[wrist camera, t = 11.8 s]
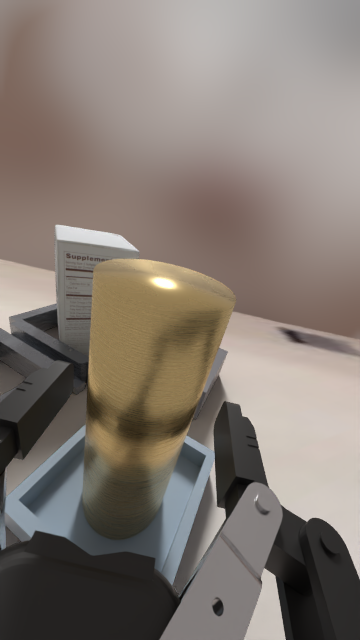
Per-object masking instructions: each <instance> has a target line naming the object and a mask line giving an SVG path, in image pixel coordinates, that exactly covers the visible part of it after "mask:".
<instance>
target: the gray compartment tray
mask: <svg viewBox="0 0 360 640" xmlns="http://www.w3.org/2000/svg"><path fill="white" fill-rule="evenodd" d="M9 321H10V328H11V334H9V333H8V332H6V331H4V330H3V329H1V328H0V360H1V361H2V362H4V363H5V364H7V365H8V366H10V367H11V368H12V369H14V370H15V371H17V372H18V373H20V374H21V375H23V376H24V377H26V378H27V377H28V376H29V375H30V374H32V373H33V372H35V371H37V370H39V369H41V368H47V369H48V368H49V367H50V366H51V365H52V364H53V363H54V362H55V361H57V360H60V361H64V362H68V363H72V364H73V365H74V386H73V390H72V392H73V393H74V394H76V395H77V394H78V393H79V392H81V391H82V390H83V389H85V382H87V383H88V369H89V357H88V356H86V355H84V354H82V353H81V352H79V351H77V350H75V349H74V348H72V347H70V346H68V345H66V344H65V343H63V342H61V341H59V340H58V339H56V338H54V337H52V336H50V335H49V334H47V333H45V332H43V331H45V330H48V329H50V328H53V327H56V326H58V316H57V304H53V305H50V306H46V307H43V308H39V309H36V310H32V311H29V312H25V313H22V314H18V315H15V316H11V317H9ZM14 389H16V387H15V388H13V389H12V390H10V391H8V392H6V393H4V394H2V395H1V396H0V402H1V401H2V400H3V399H4V398H6V397H7V396H8V395H9V394H10V393H11V392H12V391H13V390H14Z"/></svg>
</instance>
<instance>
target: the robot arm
mask: <svg viewBox="0 0 360 640" xmlns="http://www.w3.org/2000/svg"><path fill="white" fill-rule="evenodd" d="M73 386H74V365H73V364H72V363H68V362H64V361H60V360H57V361H55V362H54V363H53V364H52V365H51V366H50V367H49V368H48V369H47V368H41V369H39V370H37V371H35V372H33V373H32V374H30V375H29V376H28V377H27V378H26V379H25V380H24V381H23V383H21V384H20V385H19V386H17V387H16V389H14V390H13V391H12V392H11V393H10V394H9V395H8V396H7V397H6V398H4V399H3V400H2V401H1V402H0V640H244V637H245V634H246V631H247V629H248V626H249V623H250V620H251V617H252V615H253V612H254V609H255V606H256V604H257V601H258V598H259V595H260V592H261V588H262V581H261V575H262V572H263V569H264V568H265V569H267V570H268V571H270V572H271V573H272V574H274V575H275V576H276V582H277V588H278V594H279V600H280V606H281V613H282V619H283V625H284V631H285V637H286V640H360V579H359V577H358V574H357V571H356V569H355V566H354V564H353V561H352V559H351V556H350V554H349V551H348V549H347V547H346V545H345V543H344V541H343V539H342V538H341V536H340V535H339V534H338V532H337V531H336V530H335V529H334V528H333V527H332V526H331V525H330V524H328V523H327V522H325V521H324V520H322V519H319V518H312V519H310V520H309V521H308V522H306V521H305V520H303V519H301V518H300V517H298V516H296V515H295V514H293V513H292V512H290V511H288V510H287V509H285V508H284V507H283V506H282V505H281V504H280V502H279V500H278V498H277V497H276V495H275V494H274V493H273V491H272V490H271V489H269V486H268V483H267V479H266V475H265V471H264V467H263V463H262V459H261V454H260V450H259V449H258V448H259V446H258V442H257V440H256V434H255V429H254V427H253V425H252V424H251V422H250V420H249V419H248V418H247V417H243V416H242V413H241V408H240V405H238V404H234V403H230V402H226V401H225V402H224V403H223V405H222V407H221V409H220V412H219V414H218V416H217V418H216V421H215V424H214V451H215V471H216V491H217V507H220V508H224V509H225V511H226V519H225V521H224V522H223V524H222V526H221V527H220V529H219V531H218V532H217V534H216V536H215V537H214V539H213V541H212V543H211V544H210V546H209V548H208V549H207V551H206V553H205V554H204V556H203V558H202V559H201V561H200V563H199V564H198V566H197V567H196V569H195V571H194V572H193V574H192V575H191V577H190V579H189V580H188V582H187V584H186V585H185V587H184V589H183V590H182V592H181V594H180V595H179V597H178V595H177V593H176V591H175V590H174V588H173V587H172V585H171V584H170V582H169V581H168V580H167V578H166V577H165V576H164V575H163V574H162V573H161V572H160V571H158V570H157V569H155V568H154V567H155V559H156V558H153V557H149V556H145V555H140V554H136V553H132V552H127V551H125V552H117V553H110V554H103V555H94V556H93V555H90V554H88V553H87V552H86V551H84V550H83V549H81V548H80V547H78V546H77V545H76V544H74V543H73V542H71V541H70V540H69V539H67V538H66V537H63V536H58V535H54V534H50V533H45V532H41V531H37V530H35V532H34V534H33V536H32V537H31V539H30V540H27V541H23V542H19V543H16V544H14V545H11V546H9V547H6V530H5V500H6V480H7V466H8V464H9V463H10V462H11V460H12V459H13V458H18V459H22V460H23V459H24V458H25V457H26V455H27V454H28V453H29V451H30V450H31V448H32V447H33V446H34V444H35V443H36V442H37V440H38V439H39V438H40V436H41V435H42V433H43V432H44V431H45V429H46V428H47V427H48V425H49V424H50V423H51V421H52V420H53V419H54V417H55V416H56V414H57V413H58V412H59V410H60V409H61V408H62V406H63V405H64V404H65V402H66V401H67V399H68V398H69V397H70V395H71V393H72V390H73Z"/></svg>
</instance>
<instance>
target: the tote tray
mask: <svg viewBox="0 0 360 640" xmlns="http://www.w3.org/2000/svg"><path fill="white" fill-rule="evenodd" d="M85 430H86V424H85V425H84V426H83V427H82V428H81V429H80V430H78V431H77V432H76V433H75V434H74V435H73V436H72V437H71V438H70V439H69V440H68V441H67V442H65V443H64V444H63V445H62V446H61V447H60V448H59V449H58V450H57V451H56V452H55V453H53V454H52V455H51V456H50V457H49V458H48V459H47V460H46V461H45V462H44V463H43V464H42V465H40V466H39V467H38V468H37V469H36V470H35V471H34V472H33V473H32V474H31V475H30V476H28V477H27V478H26V479H25V480H24V481H23V482H22V483H21V484H20V485H19V486H18V487H16V488H15V489H14V490H13V491H12V492H11V493H10V494H9V495H8V496H7V497H6V500H5V525H6V526H7V527H8V528H9V530H10V531H11V532H12V533H13V534H14V535H15V536H16V537H17V538H18V539H19V540H20V541H21V542H23V541H27V540H30V539H31V537H32V536H33V534H34V532H35V530H37V531H41V532H45V533H50V534H54V535H58V536H63V537H66V538H67V539H69V540H70V541H71V542H73V543H74V544H76V545H77V546H78V547H80V548H81V549H83V550H84V551H86V552H87V553H88V554H90V555H93V556H94V555H103V554H110V553H117V552H125V551H127V552H132V553H136V554H140V555H145V556H149V557H153V558H156V559H155V567H154V568H155V569H157V570H158V571H160V572H161V573H162V574H163V575H164V576H165V577H166V578H167V580H168V581H169V582H170V584H171V585H173V582H174V579H175V576H176V573H177V570H178V567H179V564H180V561H181V558H182V555H183V552H184V549H185V546H186V543H187V540H188V537H189V534H190V531H191V528H192V525H193V522H194V519H195V516H196V513H197V510H198V507H199V504H200V501H201V498H202V495H203V492H204V489H205V486H206V483H207V480H208V477H209V474H210V471H211V468H212V465H213V462H214V459H215V452H214V451H212V450H210V449H209V448H207V447H205V446H204V445H202V444H200V443H199V442H197V441H195V440H194V439H192V438H190V437H189V436H187V435H186V438H185V441H184V443H183V446H182V449H181V451H180V454H179V457H178V460H177V462H176V465H175V468H174V470H173V473H172V476H171V478H170V481H169V484H168V487H167V489H166V492H165V495H164V497H163V500H162V503H161V505H160V508H159V510H158V513H157V514H156V516H155V518H154V519H153V521H152V522H151V523H150V524H149V526H148V527H147V528H146V529H144V530H143V531H142V532H141V533H139V534H137V535H136V536H133V537H131V538H128V539H124V540H112V539H108V538H105V537H103V536H101V535H99V534H98V533H97V532H95V531H94V530H93V529H92V528H91V526H90V525H89V523H88V522H87V520H86V517H85V515H84V511H83V506H82V491H83V471H84V450H85Z"/></svg>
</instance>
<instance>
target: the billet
mask: <svg viewBox="0 0 360 640" xmlns="http://www.w3.org/2000/svg"><path fill="white" fill-rule="evenodd" d="M235 303H236V297H235V295H234V293H233V292H232V291H231V290H230V289H229V288H228V287H226V286H225V285H223V284H222V283H220V282H218V281H217V280H215V279H213V278H211V277H208V276H206V275H204V274H201V273H198V272H196V271H193V270H190V269H187V268H183V267H180V266H176V265H172V264H168V263H162V262H157V261H151V260H142V259H113V260H107V261H103V262H101V263H99V264H97V265H96V266H95V267H94V270H93V288H92V308H91V328H90V349H89V369H88V389H87V410H86V430H85V450H84V471H83V491H82V506H83V511H84V515H85V517H86V520H87V522H88V523H89V525H90V526H91V528H92V529H93V530H94V531H95V532H97V533H98V534H99V535H101V536H103V537H105V538H108V539H112V540H124V539H128V538H131V537H133V536H136V535H137V534H139V533H141V532H142V531H143V530H144V529H146V528H147V527H148V526H149V524H150V523H151V522H152V521H153V519H154V518H155V516H156V514H157V513H158V510H159V508H160V505H161V503H162V500H163V497H164V495H165V492H166V489H167V487H168V484H169V481H170V478H171V476H172V473H173V470H174V468H175V465H176V462H177V460H178V457H179V454H180V451H181V449H182V446H183V443H184V441H185V438H186V435H187V433H188V430H189V427H190V424H191V422H192V419H193V416H194V414H195V411H196V408H197V406H198V403H199V400H200V398H201V395H202V392H203V389H204V387H205V384H206V381H207V379H208V376H209V373H210V371H211V368H212V365H213V362H214V360H215V357H216V354H217V352H218V349H219V346H220V344H221V341H222V338H223V335H224V333H225V330H226V327H227V325H228V322H229V319H230V317H231V314H232V311H233V308H234V305H235Z"/></svg>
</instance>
